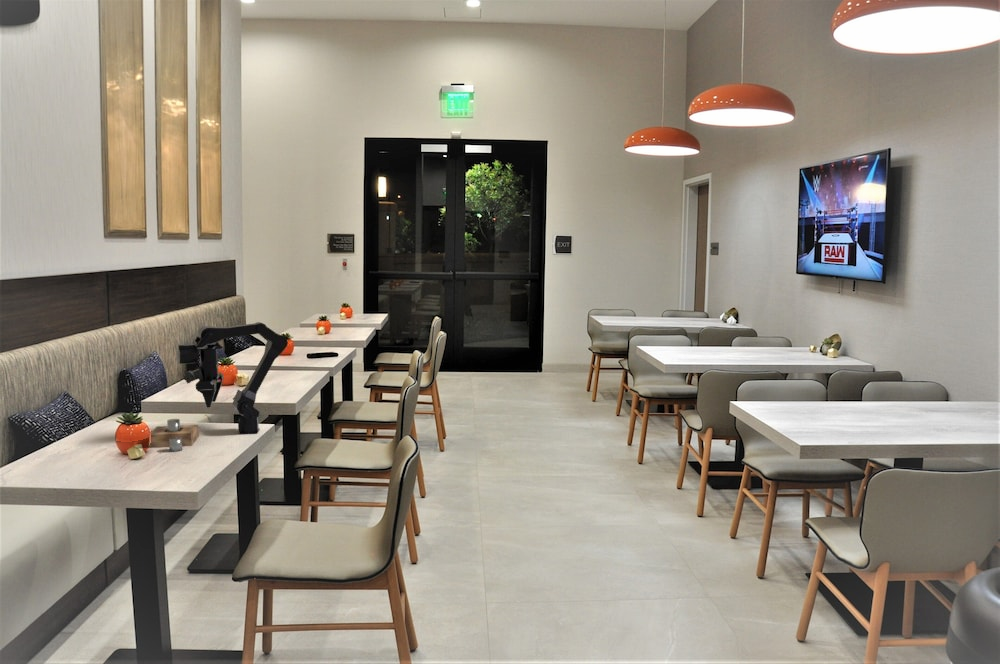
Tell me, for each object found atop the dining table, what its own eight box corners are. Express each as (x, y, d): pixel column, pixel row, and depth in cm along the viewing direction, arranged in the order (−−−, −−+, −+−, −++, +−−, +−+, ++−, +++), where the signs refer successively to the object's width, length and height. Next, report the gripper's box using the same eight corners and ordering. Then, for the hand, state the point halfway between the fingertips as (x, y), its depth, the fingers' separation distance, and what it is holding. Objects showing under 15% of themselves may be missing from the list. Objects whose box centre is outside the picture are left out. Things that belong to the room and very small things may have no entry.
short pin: (183, 448, 262) (183, 437, 262) (180, 451, 258) (180, 440, 258) (171, 449, 262) (170, 437, 261) (168, 452, 258) (167, 440, 257)
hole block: (199, 436, 277) (198, 424, 277) (191, 445, 266) (191, 433, 265) (158, 438, 275) (157, 426, 274) (148, 447, 263) (148, 435, 263)
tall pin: (182, 440, 273) (180, 418, 272) (179, 443, 269) (178, 421, 268) (170, 441, 272) (168, 419, 271) (167, 444, 268) (165, 421, 267)
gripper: (191, 358, 281) (193, 399, 283) (178, 366, 263) (181, 411, 265) (222, 357, 283) (224, 398, 285) (212, 365, 265) (215, 409, 267)
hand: (211, 404), depth 276 cm, fingers open, 9 cm apart
